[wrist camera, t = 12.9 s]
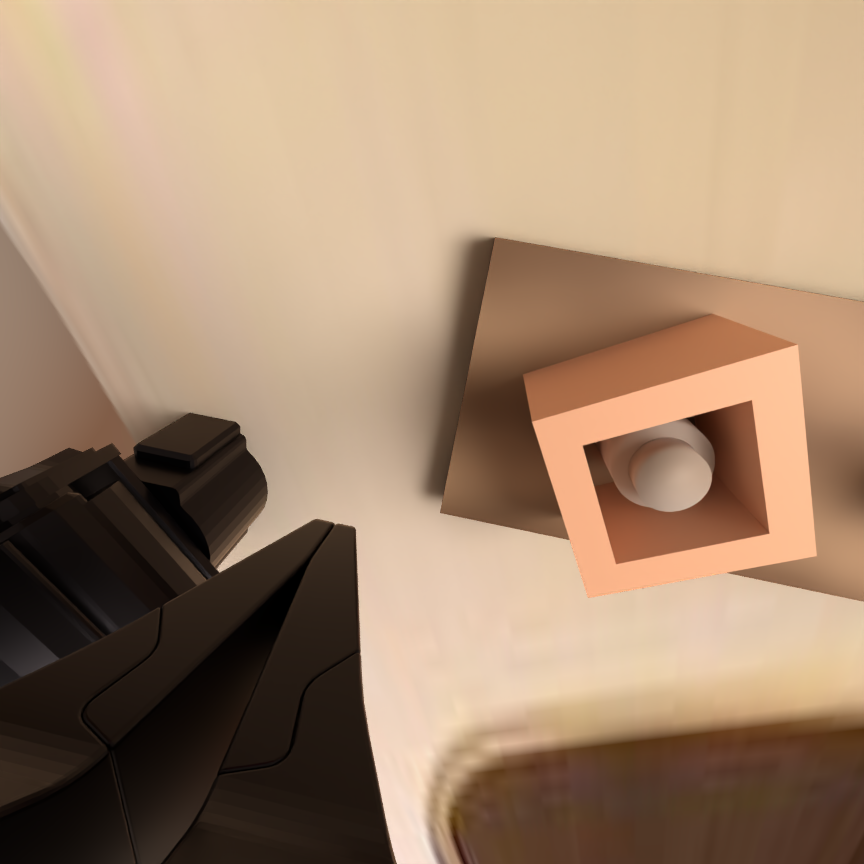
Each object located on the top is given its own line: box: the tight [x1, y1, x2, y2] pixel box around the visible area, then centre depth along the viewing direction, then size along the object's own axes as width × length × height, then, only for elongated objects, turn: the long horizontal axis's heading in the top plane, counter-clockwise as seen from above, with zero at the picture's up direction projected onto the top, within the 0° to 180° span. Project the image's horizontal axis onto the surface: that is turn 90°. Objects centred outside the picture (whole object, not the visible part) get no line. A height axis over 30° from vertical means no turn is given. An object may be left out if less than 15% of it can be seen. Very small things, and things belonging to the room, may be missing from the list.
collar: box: [523, 314, 817, 598], centre depth 16 cm, size 7×7×5 cm
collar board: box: [440, 237, 864, 601], centre depth 17 cm, size 12×26×6 cm, turn 81°
